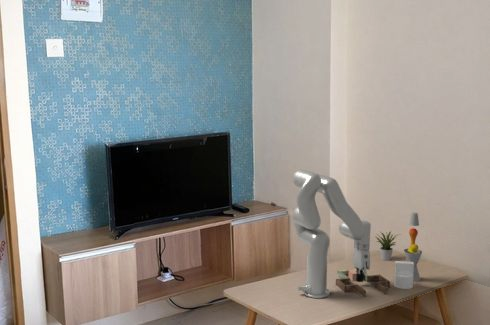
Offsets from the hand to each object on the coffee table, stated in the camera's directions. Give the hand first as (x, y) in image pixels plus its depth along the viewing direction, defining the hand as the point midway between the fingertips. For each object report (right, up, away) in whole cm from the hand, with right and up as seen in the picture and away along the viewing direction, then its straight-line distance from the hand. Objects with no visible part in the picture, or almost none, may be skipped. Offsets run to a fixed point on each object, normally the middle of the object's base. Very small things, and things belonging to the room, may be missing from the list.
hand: (359, 281), depth 287 cm
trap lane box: (+1, -2, +1) cm, 2 cm away
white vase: (+22, -2, 0) cm, 22 cm away
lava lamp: (+29, -1, +9) cm, 30 cm away
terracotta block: (0, -1, +10) cm, 10 cm away
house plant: (+24, +4, +42) cm, 49 cm away
